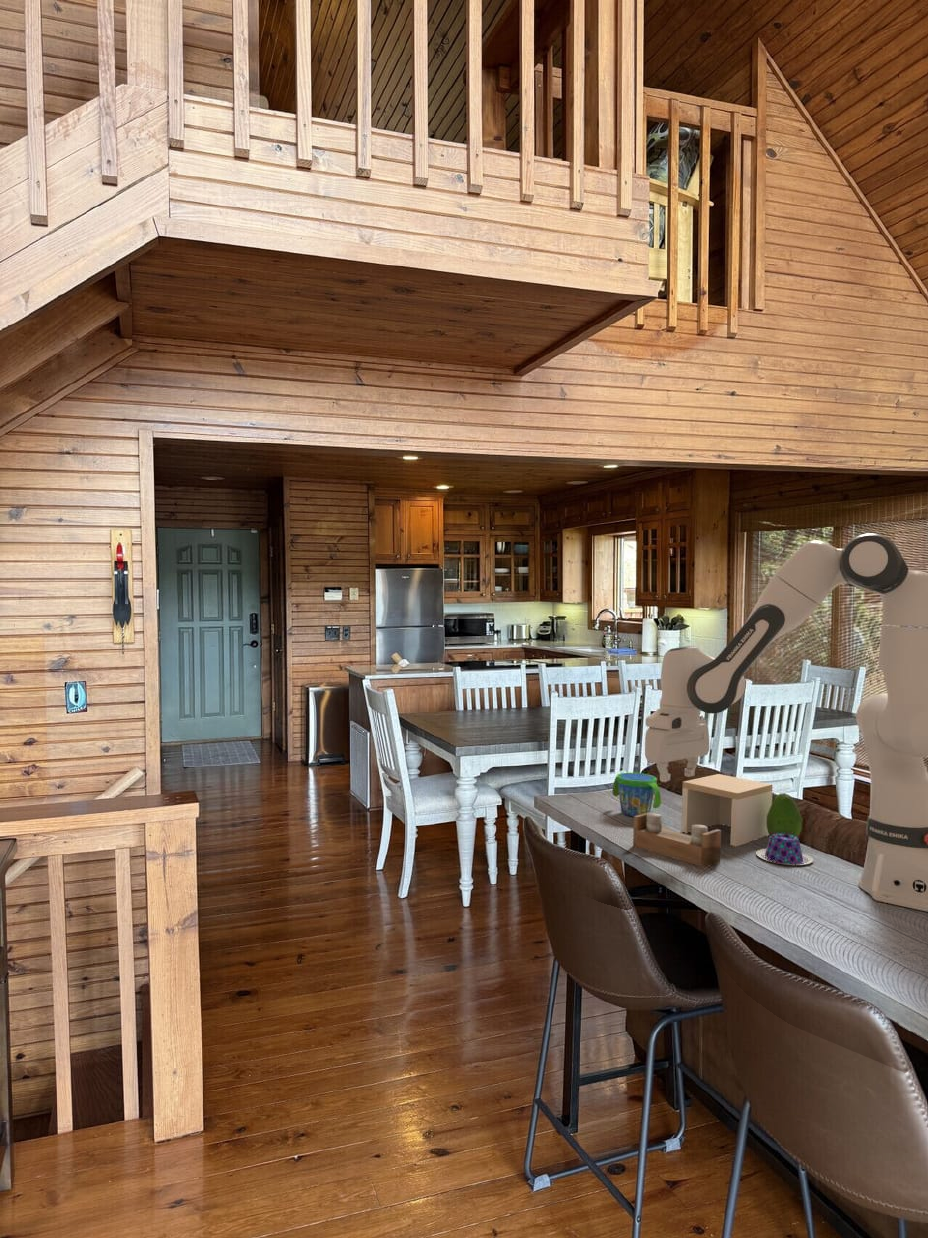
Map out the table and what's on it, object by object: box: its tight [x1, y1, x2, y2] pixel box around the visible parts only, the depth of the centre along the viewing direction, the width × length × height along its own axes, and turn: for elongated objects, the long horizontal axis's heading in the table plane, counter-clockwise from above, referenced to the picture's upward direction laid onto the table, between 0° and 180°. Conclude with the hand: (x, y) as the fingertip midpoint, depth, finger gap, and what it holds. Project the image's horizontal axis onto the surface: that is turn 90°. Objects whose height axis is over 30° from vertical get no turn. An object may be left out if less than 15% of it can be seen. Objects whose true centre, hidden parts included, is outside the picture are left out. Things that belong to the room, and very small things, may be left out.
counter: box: [680, 773, 773, 847], centre depth 205 cm, size 15×16×12 cm
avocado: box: [766, 792, 803, 838], centre depth 198 cm, size 8×8×12 cm
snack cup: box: [611, 772, 662, 818], centre depth 222 cm, size 16×10×10 cm
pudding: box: [755, 834, 814, 866], centre depth 186 cm, size 12×12×5 cm
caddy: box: [632, 811, 722, 868], centre depth 188 cm, size 6×19×8 cm, turn 41°
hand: (677, 778), depth 187 cm, fingers open, 8 cm apart
